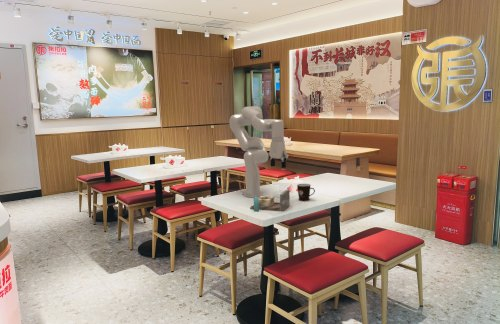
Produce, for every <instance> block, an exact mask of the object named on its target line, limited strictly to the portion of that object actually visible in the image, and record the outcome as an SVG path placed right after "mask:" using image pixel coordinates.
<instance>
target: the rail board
mask: <svg viewBox="0 0 500 324" xmlns="http://www.w3.org/2000/svg"><path fill="white" fill-rule="evenodd" d="M290 197H291V196H290V189H285V190H284V191H282V192H281V193H280V194H279V202H277V201H274V204H273V205H272V206H271V207H265V206H259V211H271V212H273V211H274V212H285V211H286V210H287V209H288V208H289V207H291V206H290V204H291V202H290V199H291V198H290ZM249 209H250V210H254V204H253V205H250V207H249Z"/></svg>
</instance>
